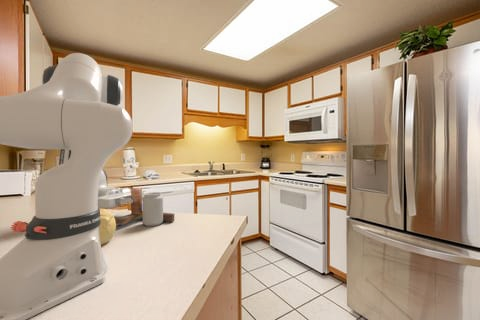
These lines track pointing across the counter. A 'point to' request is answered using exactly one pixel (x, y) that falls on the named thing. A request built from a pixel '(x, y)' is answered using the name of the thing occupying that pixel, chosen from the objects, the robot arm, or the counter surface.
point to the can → (152, 209)
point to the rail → (127, 224)
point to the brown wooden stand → (139, 209)
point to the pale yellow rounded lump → (106, 226)
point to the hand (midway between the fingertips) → (137, 199)
